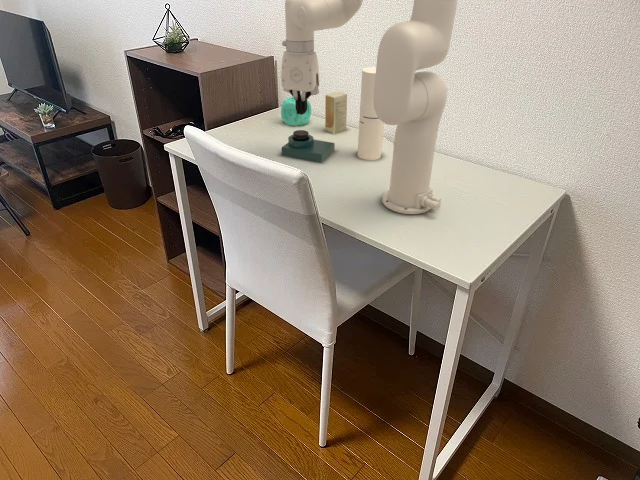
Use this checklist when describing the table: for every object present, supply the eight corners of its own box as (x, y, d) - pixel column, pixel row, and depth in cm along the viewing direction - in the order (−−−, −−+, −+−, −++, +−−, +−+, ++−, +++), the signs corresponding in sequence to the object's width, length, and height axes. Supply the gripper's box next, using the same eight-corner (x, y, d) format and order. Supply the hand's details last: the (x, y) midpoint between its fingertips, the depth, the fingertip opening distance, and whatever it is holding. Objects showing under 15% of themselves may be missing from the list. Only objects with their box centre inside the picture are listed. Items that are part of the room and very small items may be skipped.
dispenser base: (334, 151, 151) (334, 137, 148) (321, 163, 143) (321, 148, 140) (296, 144, 155) (296, 130, 152) (281, 155, 147) (281, 141, 145)
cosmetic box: (337, 126, 170) (338, 90, 163) (346, 129, 167) (348, 93, 160) (324, 130, 166) (324, 94, 159) (333, 134, 163) (334, 97, 157)
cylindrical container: (373, 162, 144) (379, 74, 130) (352, 156, 147) (357, 70, 134) (385, 154, 149) (393, 69, 135) (365, 149, 152) (371, 65, 139)
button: (311, 137, 148) (311, 131, 147) (304, 143, 145) (304, 136, 144) (297, 135, 150) (297, 129, 149) (290, 140, 146) (290, 134, 145)
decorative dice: (291, 117, 177) (290, 95, 173) (311, 120, 174) (311, 98, 170) (281, 124, 171) (280, 101, 167) (301, 127, 168) (301, 104, 164)
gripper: (269, 46, 133) (272, 113, 143) (319, 51, 128) (319, 120, 137) (282, 42, 139) (284, 106, 148) (330, 46, 134) (330, 112, 143)
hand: (301, 113), depth 143 cm, fingers closed
